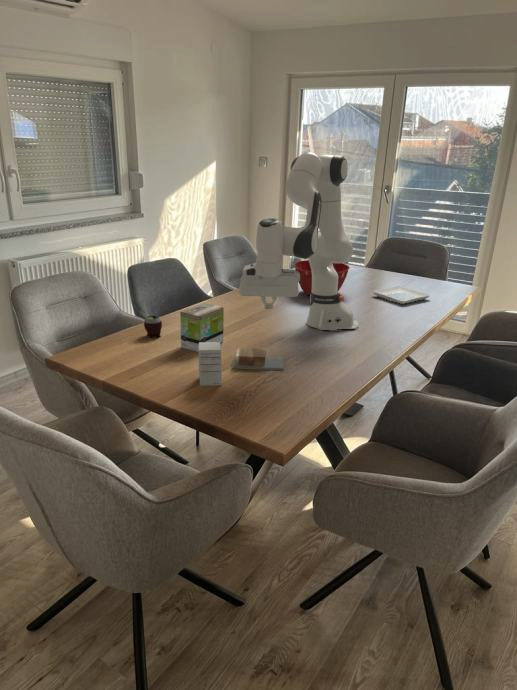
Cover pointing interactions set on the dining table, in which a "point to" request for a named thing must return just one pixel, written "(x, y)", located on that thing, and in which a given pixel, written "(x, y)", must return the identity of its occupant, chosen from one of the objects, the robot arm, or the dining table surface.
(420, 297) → the salad plate
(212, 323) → the tea box
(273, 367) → the mat
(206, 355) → the supplement box
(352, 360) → the dining table surface
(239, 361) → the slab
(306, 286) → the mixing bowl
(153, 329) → the mate gourd
